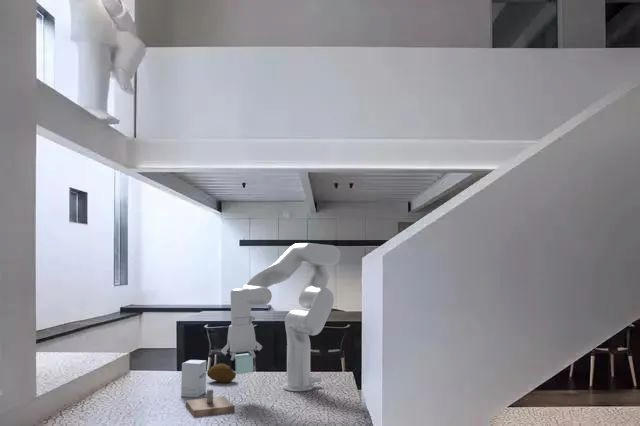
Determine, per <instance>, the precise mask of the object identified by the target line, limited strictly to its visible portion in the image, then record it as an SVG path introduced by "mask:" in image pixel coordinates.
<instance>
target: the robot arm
mask: <svg viewBox="0 0 640 426" xmlns="http://www.w3.org/2000/svg"><path fill="white" fill-rule="evenodd" d="M340 259H341V252H340V249H339V248H338V247H337V246H335V245H332V244H320V243H314V242H312V243H311V242H298V243H294V244H292V245H290V246H289V248H288V249H286V251H285V252H284V253H283V254H281V256H279V258H278V259H277V260H276V261H275V262H274V263H272V264H271V265H270V266H267V267H266V268H264V269H263V270H261V271H259V272H258V273H256V274H255V275H253V276H252V277H251V278H250V279H249V280H248V281H247V282H246V283H245V284H244V285H243V286H242V287H237V288H233V289H231V290H230V320H231V322H230V323H231V324H230V325H229V324H228V325H229V326H228V329H227V330H228V331H227V341H226V342H227V343H226V345H225V346H224V347H223V348H222V349H221V353H222V354H223V355H224V356H225V357H226V358H228V359H229V366H230V368H231V369H232V371H235V360H234V358H235V355H237V353H239V354H240V353H246V352H247V353H248V354H250V355H252V356H253V370H254V369H255V368H254V366H255V364H256V361H255V358H256V356H257V355H258V354H259V352H260V351H261V350H262V349H263V345H261V344H260V342H258V341H257V339H256V332H255V328H254V323H253V321H256V320H255V319H256V318H255V316H252V307H265V306H267V305H268V304H269V303H270V302H271V301H272V296H273V295H272V294H273V293H272V292H271V290H270V289H269V287H271V286H273V285H277V284H280V283H283V282H285V281H287V280H289V279H291V276H292V275H294V274H295V272H296V271H297V270H298V269H299V268H300V267H301V266H302V265H308V269H309V273H308V276H307V280H306V282H305V284H304V286H303V288H302V290H301V292H300V294H299V297H298V304H299V305H300V307H302V308H303V309H300V308H296V309H292V310H290V311H289V312H287V314H286V315H285V318H284V326H285V332H286V344H287V345H286V382H285V383H284V384H283V385H282V388H283V390H285V391H289V392H306V391H312V390H313V389H314V388H315V385H314V384H315V383H321V382H322V377H321V376H312V375H311V339H310V336H316V335H319V334H320V333H321V332H322V330H323V329H324V326H325V324H326V322H327V320H328V318H329V316H330V313H331V311H332V309H333V307H334V306H333V305H334V303H335V302H334V300H335V299H334V298H335V297H334V294H333V292H332V290H331V289H330V288H327V285H328V282H329V272H328V269H327V266H329V267H330V266H332V267H333V266H335V265H337V264H338V263H339V261H340ZM227 351H229V352H230V353H228V352H227Z"/></svg>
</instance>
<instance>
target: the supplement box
mask: <svg viewBox="0 0 640 426" xmlns="http://www.w3.org/2000/svg"><path fill="white" fill-rule="evenodd" d="M180 386H181V387H180V388H181V389H180V390H181V391H180V396H181V397H186V398H187V397H190V398H200V397H201V396H202V395H204V394H207V389H206V388H207V360H204V359H203V360H202V359H201V360H200V359H189V360H186V361H185V362H182V363H181V385H180Z"/></svg>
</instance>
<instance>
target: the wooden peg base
mask: <svg viewBox="0 0 640 426" xmlns="http://www.w3.org/2000/svg"><path fill="white" fill-rule="evenodd" d="M235 406H236V405H234V404H233V403H232V402H231V401H230V400H229V399H228V398H227V397H225V396H214V389H211V388H210V389H209V388H208V389H206V397H204V398H196V399H194V398H193V399H188V400H187V399H186V400H185V407H186V409H187V411H188V412H189V413H190V414H191V416H193V417H194V418H195V417H203V416H210V415H211V416H212V415H218V414H219V415H220V414H227V413H235V411H236V410H235V409H236V408H235Z"/></svg>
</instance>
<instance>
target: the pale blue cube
mask: <svg viewBox="0 0 640 426" xmlns="http://www.w3.org/2000/svg"><path fill="white" fill-rule="evenodd" d="M234 360H235V371H233V372H234V373H236V375H241V374H248V373H250V374H251V373H254V369H253V356H252V355H250V353H249V352H247V353H246V352H245V353H239V354H236V355H235V358H234Z"/></svg>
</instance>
